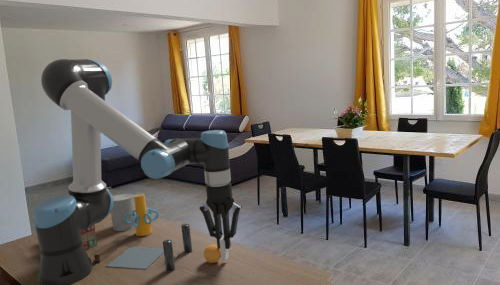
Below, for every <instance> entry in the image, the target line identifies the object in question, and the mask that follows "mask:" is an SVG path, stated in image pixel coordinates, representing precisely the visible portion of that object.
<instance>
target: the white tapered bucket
mask: <svg viewBox="0 0 500 285" xmlns="http://www.w3.org/2000/svg"><path fill="white" fill-rule="evenodd" d="M134 195H135V194H133V193H132V192H131V193H127V192H126V193H119V194H118V193H117V194H114V195H112V196H113V208H112V211H111V213H110V216H111V224H112V230H113V231H115V232H124V231H131V230H132V229H135V227H134V226H133V224H128V223H126V221H125V217H126V215H127V214H129V213H132V212H133V210H135V204H134ZM134 214H135V215H136V212H134ZM132 219H133V215H130V216H128V217H127V220H128V222H132Z"/></svg>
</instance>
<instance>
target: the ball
mask: <svg viewBox="0 0 500 285" xmlns="http://www.w3.org/2000/svg"><path fill="white" fill-rule="evenodd" d="M203 257H204V259H205V261H206V262H207V263H210V264H215V263H218V262H219V260H220V261H221V251H220V249H218V247H217V244H209V245H207V246H206V247H205V248H204V249H203Z"/></svg>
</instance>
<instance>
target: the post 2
mask: <svg viewBox="0 0 500 285" xmlns="http://www.w3.org/2000/svg"><path fill="white" fill-rule="evenodd" d="M190 227H191V226H190V224H189V223H184V224H181V235H182V243H183V244H182V246H183V252H184V254H189V253H192V252H193V247H192V246H193V245H192V237H191V228H190Z"/></svg>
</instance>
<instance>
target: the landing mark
mask: <svg viewBox="0 0 500 285" xmlns="http://www.w3.org/2000/svg"><path fill="white" fill-rule="evenodd" d="M162 255H164V248H162V247H160V248H159V247H143V246H142V247H141V246H131V247H129V248H127V249H126V250H125V251H124V252H122V253H121V254H120V255H119V256H117V257H116V258H115V259H114V260H112V261H111V262H109V264H107V265H106V267H107V268H120V269H121V268H123V269H135V270H147V269H148V268H149V267H150V266H151V265H152V264H154V262H156V261H157V260H158V259H159V257H161V256H162Z"/></svg>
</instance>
